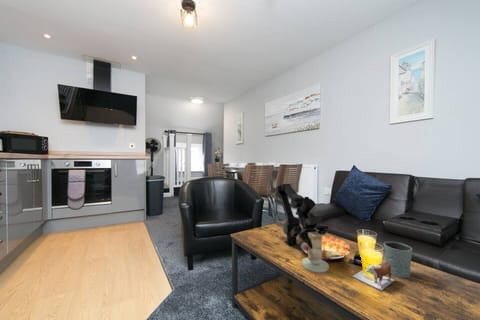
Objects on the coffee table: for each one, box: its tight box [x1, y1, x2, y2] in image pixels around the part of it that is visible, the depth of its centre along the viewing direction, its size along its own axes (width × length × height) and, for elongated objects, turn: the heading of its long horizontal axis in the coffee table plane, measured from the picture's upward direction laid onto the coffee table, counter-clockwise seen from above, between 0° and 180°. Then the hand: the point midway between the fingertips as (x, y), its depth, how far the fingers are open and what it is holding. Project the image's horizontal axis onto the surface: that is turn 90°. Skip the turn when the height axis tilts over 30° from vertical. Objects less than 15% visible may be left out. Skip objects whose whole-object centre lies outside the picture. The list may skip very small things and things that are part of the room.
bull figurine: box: [365, 261, 392, 287], centre depth 80 cm, size 4×13×8 cm, turn 113°
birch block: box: [307, 232, 323, 264], centre depth 93 cm, size 4×4×13 cm
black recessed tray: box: [347, 253, 363, 268], centre depth 95 cm, size 12×7×5 cm, turn 48°
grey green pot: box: [383, 241, 413, 279], centre depth 88 cm, size 10×10×12 cm
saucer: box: [301, 256, 330, 274], centre depth 93 cm, size 12×12×1 cm
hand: (316, 248), depth 92 cm, fingers closed on birch block, 4 cm apart
